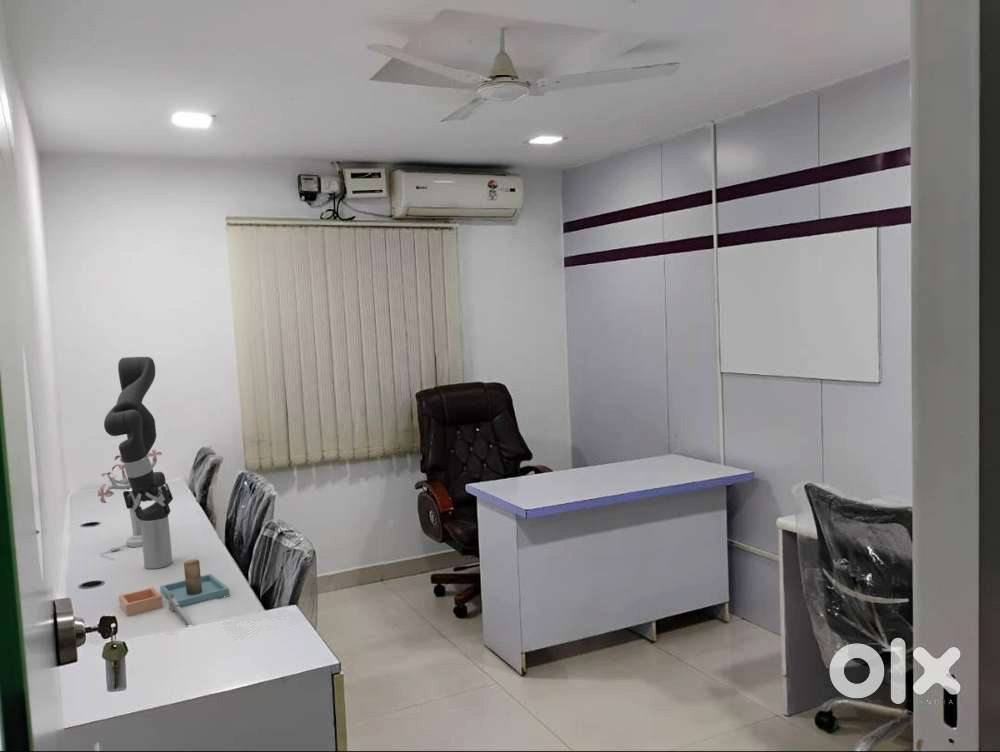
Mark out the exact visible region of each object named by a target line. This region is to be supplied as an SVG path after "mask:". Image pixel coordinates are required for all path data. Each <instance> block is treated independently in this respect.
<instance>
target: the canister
mask: <svg viewBox="0 0 1000 752" xmlns="http://www.w3.org/2000/svg"><path fill="white" fill-rule="evenodd" d="M200 565H201V564H200V560H199V559H193V558H192V559H188V560H186V561H184V562H183V567H184V568H183V570H184V580H185V582H186V593H187V595H196V594H199V593H201V592H202V585H201V576H202V575H201V566H200Z"/></svg>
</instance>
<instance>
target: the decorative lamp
mask: <svg viewBox="0 0 1000 752" xmlns="http://www.w3.org/2000/svg"><path fill="white" fill-rule="evenodd" d="M162 455H163V453H162V452H161V451H158V452H157V449H155V448H153V449H151V452H149V453H148V454H147V456H148V458H149V457H152V461H151V462H150V463H151V466H152V469H153V468H154V467H155V466H156V464H157V461H158V458H157V456H162ZM118 459H120V460H119V461H120V462H121V463H122V464H115V465H114V466H112V468H111V471H109V472H103V473H102V474H101V476H102V477H103V478H104V477H106V475H107V477H108V479H109V481H108V482H109V483H111V485H108V487H107V489H105V488H106V484H107V483H104V484H102V485H101V486H100V488H99V489H98V490H97V497H100V499H99V500H100V502H101V503H102V504H107V501H106V500H105V497H106V498H110V497H112V496H113V495H115V492H113V491H112V490H126V489H127V488H129V489H130V490H131V489H132V488H131V486H130V483H129V480H128V477H127V474H126V471H125V468H124V463H123V459H122V456H121V454H120V453H119V454H118V455H116V456H114V461H117V460H118ZM116 467H118V468H119V470H120V471H121V476H122V479H121V480H117V479H116V478H115V477H118V476H117V475H114V476H112V477H111V476H110V475H113V471H114V469H115V468H116ZM104 491H105V492H104ZM132 498H133V502H135V500H136V499H135V498H134V496H133V494H132ZM129 514H130V516H129V517H130V522H131V529H132V534H131V535H130V536H129V538H126V541H125V542H126V544H124V545H122V546H115V547H111V548H109V550H107V551H104V552H102V553H99V555H100V556H102V557H105V558H108V559H111V560H114V558H113V557H111V556H110V557H109V556H107V555H103V554H108V553H109V552H115V551H119V550H121V548H125V547H129V548H138V547H139V548H140V547H143V546H142V536H141V526H140V520H139V518H137V516H136V513H135V510H134V509H132V508H130V509H129Z"/></svg>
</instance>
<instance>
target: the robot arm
mask: <svg viewBox="0 0 1000 752" xmlns="http://www.w3.org/2000/svg"><path fill="white" fill-rule="evenodd" d="M117 371H118V378H119V383H120V389H121V392H120V393H119V395H118V397H117V400H116V403H115V405H114V406H113V407H112V408H111V409H110V410H109V412H108V413H107V414H106V415H105V418H104V420H103V421H104V422H103V427H104V430H105V432H106V433H107V434H108V435H109V436H111V437H119V436H122V435H126V437H127V438H126V439H125V440H123V441H121V443H119V445H118V450H119V455H120V454H121V455H120V456H122V459H123V463H122V464H123V465H124V472H125V475H126V477H127V478H128V480H129V483H130V486H131V488H132V489H131V488H127V489H124V491H123V492H122V494H123V495H122V496H123V499H124V503H125V506H126V508H127V509H129V510H130V508H132V509H134V510H135V513H136V516H137V518H139V520H140V526H141V536H142V546H141V547H142V552H143V553H142V554H143V565H144V568H145V569H151V570H152V569H161V568H165V567H168V566H170V565H172V564H173V554H172V552H173V551H172V543H171V541H172V540H171V533H170V531H171V530H170V521H169V515H170V513H171V508H170V505H169V504H170V503H171V502H172V501H173V499H174V497H173V494H172V492H171V488H170V487H169V485H168V483H167V482H166V477H165V474H164V472H162V471H154V469H153V468H152V466H151V463H152V462H151V460H150V458H149V457H148V456H147V455H148V453H150V451H151V450H152V448H153V446H154V444H155V443H156V439H157V429H156V420H155V418H154V416H153V414H152V413H151V411H150V410H149V409H148V408H147V407H146V406H145V404H144V403H143V400H144V397H145V396H146V394H147V393H148V391H149V390H150V388H151V386H152V385H153V382H154V381H155V377H156V365H155V361H154V359H153V358H152V357H150V356H135V357H134V356H131V357H130V356H128V357H122V358H120V359H119V361H118V365H117ZM129 483H128V484H129ZM132 494H133V496H134V498H135V499H136V500H135V502H133V498H132ZM148 501H149V502H153V504H151V505H149V506H146V507H145V508H142V506H141V503H142V502H143V503H145V502H148Z"/></svg>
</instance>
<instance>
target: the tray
mask: <svg viewBox="0 0 1000 752" xmlns="http://www.w3.org/2000/svg"><path fill="white" fill-rule="evenodd" d="M201 585H202V592H201V593H199V594H196V595H187V593H186V582H185V579H184V580H180V581H175V582H171V583H168V584H164V585H160V586H159V587H160V594H162V595H163V596H164V597H165V598H166V599H167V600H168V595H169V593H170V592H172V593H173V594H174V598H175V599H176V601H177V602H178V603H179V606H180V607H181V608H184V607H187V606H190V605H194V604H195V605H196V604H199V603H204V602H207V601H210V600H214V599H217V600H219V599H218V598H220V599H222V598H221V597H224V596H227V595H229V596H230V588H229V587H228V586H227V585H226V584H224V583H223V582H222V581H220V580H219V578H217V577H215V575H213V574H212V573H208V574H203V575H201ZM227 597H228V596H227ZM224 598H225V597H224Z"/></svg>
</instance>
